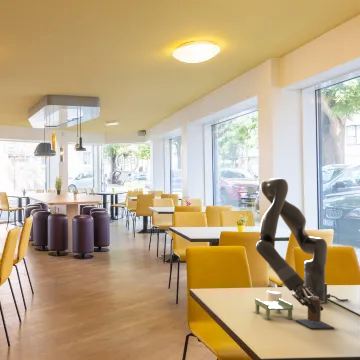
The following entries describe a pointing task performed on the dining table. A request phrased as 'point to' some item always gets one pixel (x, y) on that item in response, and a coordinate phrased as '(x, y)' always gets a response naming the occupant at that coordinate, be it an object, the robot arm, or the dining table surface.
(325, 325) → the mat
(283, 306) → the tray
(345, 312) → the dining table surface
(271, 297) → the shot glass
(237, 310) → the dining table surface
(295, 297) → the robot arm
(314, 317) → the brown bottle
